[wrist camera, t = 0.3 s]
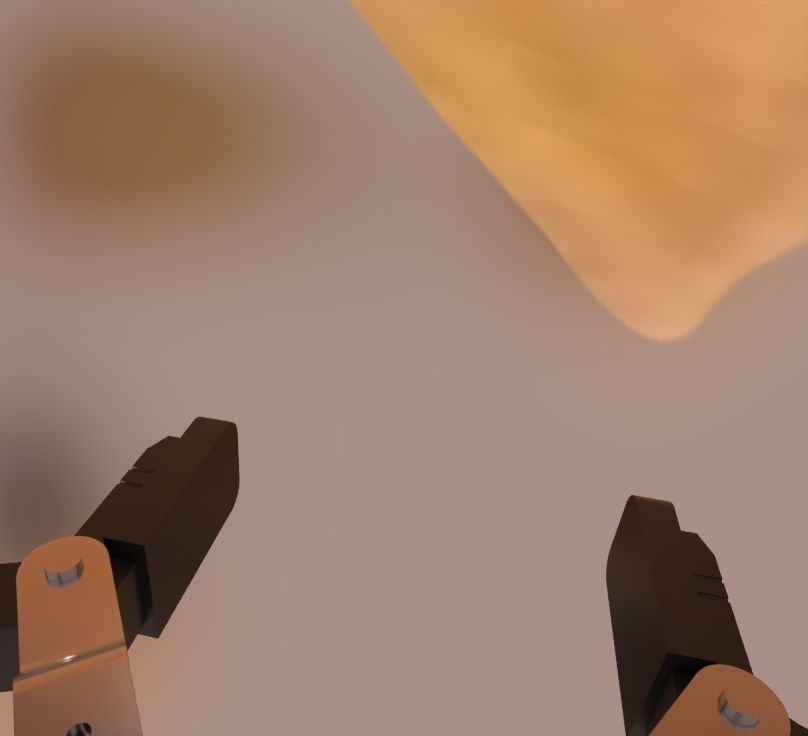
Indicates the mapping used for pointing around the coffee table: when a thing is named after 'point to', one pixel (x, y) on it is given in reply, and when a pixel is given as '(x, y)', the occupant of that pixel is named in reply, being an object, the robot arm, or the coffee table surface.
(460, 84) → the coffee table surface
